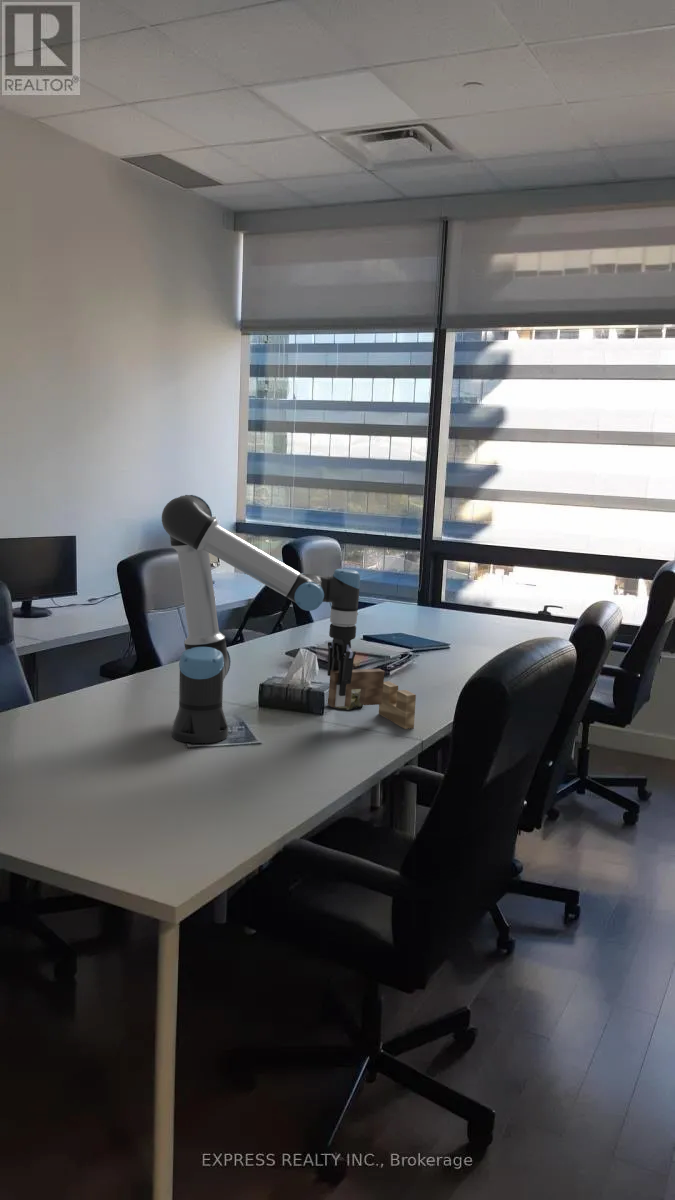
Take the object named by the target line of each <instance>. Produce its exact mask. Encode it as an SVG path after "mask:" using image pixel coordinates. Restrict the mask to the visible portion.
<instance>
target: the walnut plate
mask: <svg viewBox="0 0 675 1200" xmlns="http://www.w3.org/2000/svg"><path fill="white" fill-rule="evenodd" d="M338 672H339V670H331V672H330V676H329V684H328V685H329V687H328V697H327V698H328V703H327V705H329V706H330V708H333V707H336V706H335V699H336V686H337V685H336V683H337V682H338ZM384 682H385V670H383V669H381V668H365V669H364V668H363V669H362V668H361V669H358V668H357V669H353V670H352V678H351V684H347V685H346V694H345V706H350V704H351V692H352V689H361V691H360V702H359V703H361V704H363V706H377V705H378V706H379V705H381V704H382V694H383V684H384ZM339 707H343V706H339Z"/></svg>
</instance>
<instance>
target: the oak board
mask: <svg viewBox="0 0 675 1200" xmlns="http://www.w3.org/2000/svg"><path fill="white" fill-rule="evenodd" d="M416 699H417V695H416V694H415V693H413V692H411V691H409V690H407V689H400V690H399V685H397V684H395V683H393V682H392V681H389V680H388V681H384V684H383V694H382V704H381V705H378V715H379V716H381V717H384V718H385V719H387V720H389V721H390V722H392V723H393V724H395V725H397V726H398V727H401V728H402V729H404V730H410V728H411V729H414V728H415V718H416V717H415V714H416V702H417V701H416ZM408 728H409V729H408Z"/></svg>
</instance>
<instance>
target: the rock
mask: <svg viewBox="0 0 675 1200" xmlns="http://www.w3.org/2000/svg"><path fill="white" fill-rule="evenodd" d="M360 691H361V689H352V692H351V704H350V706H343V707H332V708H334V709H335V710H339V711H351V710H354V709H358V708H363V707H364V705H363V704H361V703H359V702H360Z"/></svg>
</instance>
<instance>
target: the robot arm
mask: <svg viewBox="0 0 675 1200" xmlns="http://www.w3.org/2000/svg"><path fill="white" fill-rule="evenodd" d="M161 522H162V523H161V524H162V526H163V529H164V531H165V532H166V534H167V535H168V536H169V539H170V540H169V541H170V547H171V548H172V549H173V550H175V551H176V552H177V558H178V564H179V565H178V566H179V571H180V580H181V587H182V595H183V602H184V603H183V604H184V611H185V617H186V625H187V633H188V636H187V637H186V639H185V640H184V642H183V644H184V651H183V652H182V653H181V655H180V657H179V663H178V667H179V668H178V669H179V689H178V690H179V691H178V693H179V694H178V695H179V697H178V699H179V700H178V710H177V712H176V715H175V717H174V718H175V719H174V721H173V724H172V728H171V737H172V738H173V739H174V740H177V741H179V742H182V743H186V742H191V743H190V744H195V743H202V744H203V743H205V744H213V743H217V742H221V740H222V741H223V740H225V738H226V737H227V736H229V727H228V723H227V719H226V716H225V713H224V709H223V698H224V697H223V694H224V693H223V691H224V680H225V678H226V677H227V675H228V673H229V671H230V670H231V662H232V661H231V655H230V653H229V650H228V648H227V641H226V635H224V634H223V633H222V632H220V628H219V621H218V613H217V607H216V606H217V605H216V597H215V589H214V583H213V574H212V565H211V559H210V554H211V555H212V556H214V557H216V558H217V559H220V560H221V561H223V562H225V563H226V564H228V565H230V566H232V567H234V568H235V569H237V571H240V572H242V573H244V574H246V575H247V576H249V577H251V578H253V579H254V580H256V581H258V582H259V583H261V584H263V585H265V586H266V587H268V588H269V589H272V590H273V591H274V592H276V593H279V594H281V595H282V596H284V597H285V598H287V599H289V600H290V601H292V602H293V603H295V604H296V605H297V606H298V607H299V608H300V609H301V610H303V611H307V612H310V611H315V610H317V609H318V608H319V607H320V606H321V605H322V604H323V603H331V605H330V606H331V607H330V618H329V619H330V620H329V622H330V624H329V631H328V633H329V634H328V635H329V637H330V638H331V639H332V641H328V642H327V650H328V653H327V676H328V677H330V672H331V670H339V672H338V682H337V683H336V685H337V686H336V699H335V706H336V707H339V706H345V694H346V685H347V684H351V678H352V670H354V660H355V657H356V651H354V650H352V644H351V641H352V640H354V639H356V635H357V626H356V624H357V620H358V616H359V613H358V609H359V599H360V598H359V597H360V591H361V590H360V588H361V586H360V584H361V574H360V572H359V571H357V570H355V569H349V568H336V569H335V570H334V571H333V574H332V575H323V574H321V575H320V574H311V573H304V572H302V573H301V572H299V571H298V570H296V569H294V568H293V567H291V566H289V565H287V564H285V562H282V561H281V560H279V559H277V558H275V557H274V556H273V555H270V554H268V553H267V552H265V551H264V550H262V549H260V548H258V547H257V546H255V545H253V544H251V543H250V542H249V541H246V540H245V539H243V538H242V537H239V536H238V535H237V534H234V533H233V532H231V531H229V530H227V528H224V527H222V526H221V525H219V524H218V520H217V519H216V518H215V517H213V514H212V509H211V507H210V505H209V504H208V502H206V500H204V499H203V498H201V497H199V496H197V495H194V494H185V495H181V496H178V497H175V498H174V499H172V500H169V501H168V503H167V504H166V505H165V506H164V508H163V509H162V513H161ZM227 738H228V737H227ZM227 738H226V739H227ZM202 744H201V745H202ZM203 745H204V744H203Z"/></svg>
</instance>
